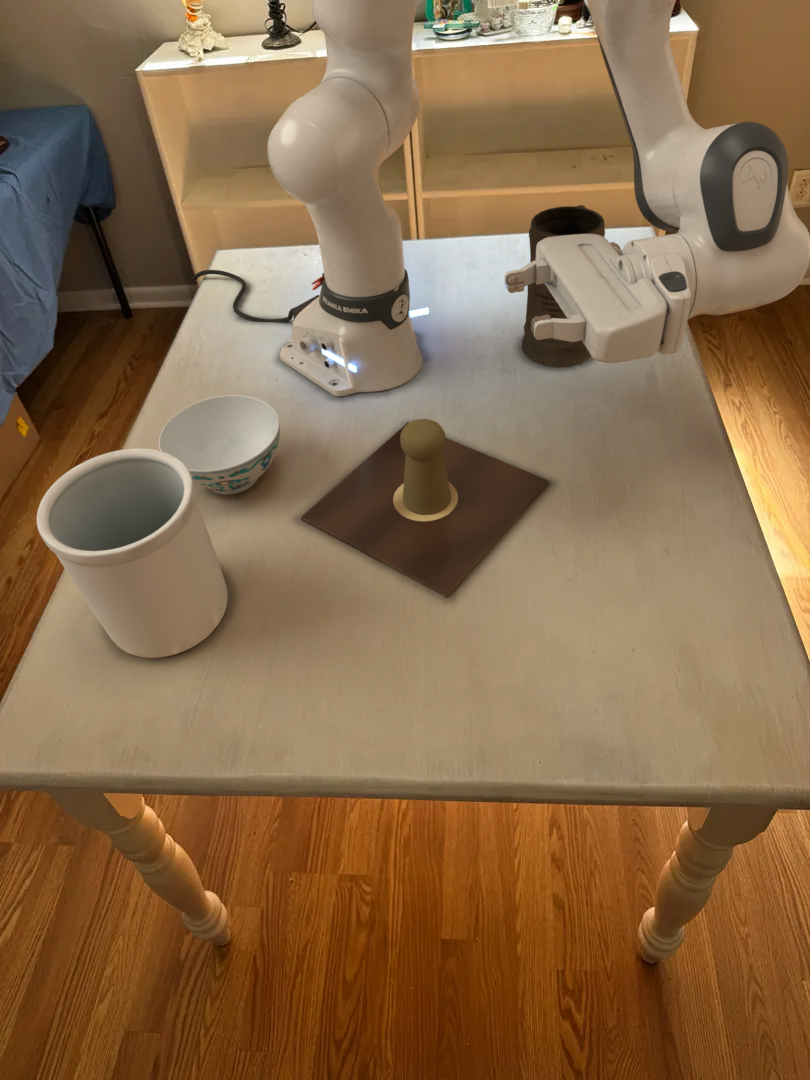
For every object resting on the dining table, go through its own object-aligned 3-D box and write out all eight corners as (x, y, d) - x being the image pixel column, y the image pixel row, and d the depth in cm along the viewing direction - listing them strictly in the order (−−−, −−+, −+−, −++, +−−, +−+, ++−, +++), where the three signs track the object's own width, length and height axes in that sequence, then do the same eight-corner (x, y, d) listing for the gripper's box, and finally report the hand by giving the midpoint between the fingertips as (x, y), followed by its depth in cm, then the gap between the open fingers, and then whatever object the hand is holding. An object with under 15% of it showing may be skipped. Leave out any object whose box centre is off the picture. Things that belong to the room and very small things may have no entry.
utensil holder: (208, 672, 82) (157, 560, 69) (77, 658, 84) (6, 547, 71) (250, 566, 92) (213, 451, 79) (132, 556, 94) (78, 443, 81)
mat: (301, 520, 96) (300, 516, 96) (408, 424, 108) (407, 421, 107) (447, 597, 86) (447, 593, 86) (548, 483, 98) (549, 479, 97)
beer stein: (592, 372, 113) (609, 234, 99) (517, 368, 115) (524, 232, 101) (595, 322, 124) (611, 191, 110) (527, 319, 126) (534, 190, 112)
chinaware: (305, 445, 106) (295, 399, 101) (267, 523, 96) (254, 476, 91) (203, 436, 109) (188, 390, 104) (156, 510, 99) (137, 464, 94)
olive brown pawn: (416, 521, 94) (410, 451, 86) (394, 492, 98) (386, 422, 90) (460, 503, 95) (458, 432, 87) (436, 475, 99) (432, 405, 91)
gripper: (615, 211, 86) (492, 230, 85) (698, 303, 72) (552, 328, 71) (608, 265, 90) (492, 284, 89) (685, 362, 76) (548, 386, 75)
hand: (519, 305), depth 80 cm, fingers open, 8 cm apart
